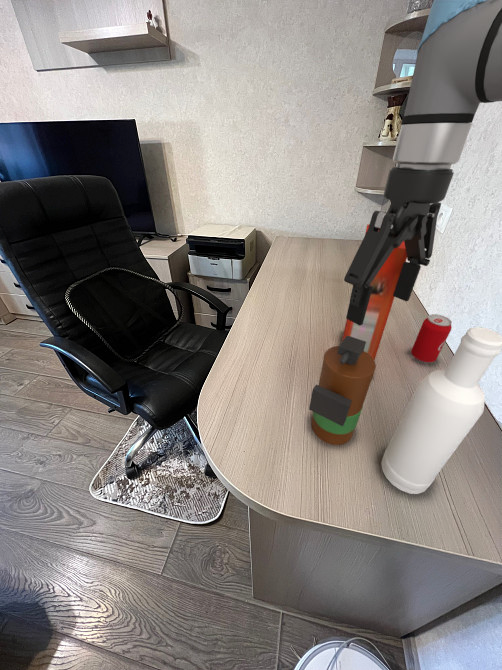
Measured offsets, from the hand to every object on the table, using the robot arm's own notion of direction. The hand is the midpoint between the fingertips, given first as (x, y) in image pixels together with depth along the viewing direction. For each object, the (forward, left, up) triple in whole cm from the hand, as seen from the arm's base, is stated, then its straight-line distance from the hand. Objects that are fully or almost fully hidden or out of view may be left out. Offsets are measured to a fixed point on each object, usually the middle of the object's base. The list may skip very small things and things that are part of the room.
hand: (378, 309), depth 48 cm
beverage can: (+20, -21, -25) cm, 38 cm away
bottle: (-15, -7, -25) cm, 30 cm away
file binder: (+19, -3, -25) cm, 31 cm away
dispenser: (-7, +5, -24) cm, 26 cm away
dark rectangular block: (-13, +7, -14) cm, 20 cm away
